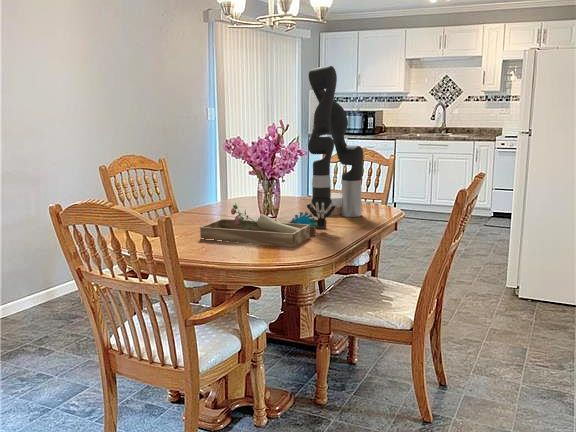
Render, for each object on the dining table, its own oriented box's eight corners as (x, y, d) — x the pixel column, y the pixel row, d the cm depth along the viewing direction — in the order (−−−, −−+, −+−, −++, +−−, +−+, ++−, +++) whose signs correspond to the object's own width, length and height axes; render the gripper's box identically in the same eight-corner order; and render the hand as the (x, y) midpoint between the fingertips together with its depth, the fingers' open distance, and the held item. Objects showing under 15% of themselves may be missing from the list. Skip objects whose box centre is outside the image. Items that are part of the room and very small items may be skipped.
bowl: (350, 215, 277) (351, 198, 275) (315, 215, 277) (315, 198, 276) (348, 208, 294) (348, 192, 292) (314, 209, 294) (314, 193, 292)
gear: (287, 228, 241) (295, 209, 245) (290, 235, 245) (298, 216, 250) (312, 233, 237) (320, 213, 242) (314, 241, 242) (322, 221, 246)
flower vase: (292, 260, 224) (220, 233, 239) (307, 245, 233) (237, 220, 248) (293, 235, 218) (219, 209, 233) (309, 221, 227) (236, 196, 242)
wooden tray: (222, 230, 247) (221, 218, 246) (310, 236, 231) (310, 224, 230) (199, 239, 230) (199, 227, 229) (293, 247, 214) (293, 234, 214)
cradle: (295, 225, 254) (295, 217, 253) (326, 227, 248) (326, 219, 248) (280, 233, 239) (280, 224, 238) (313, 235, 234) (313, 227, 233)
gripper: (339, 185, 238) (339, 226, 241) (309, 184, 243) (309, 224, 246) (334, 187, 231) (334, 229, 234) (303, 186, 236) (303, 227, 239)
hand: (321, 226), depth 240 cm, fingers closed
